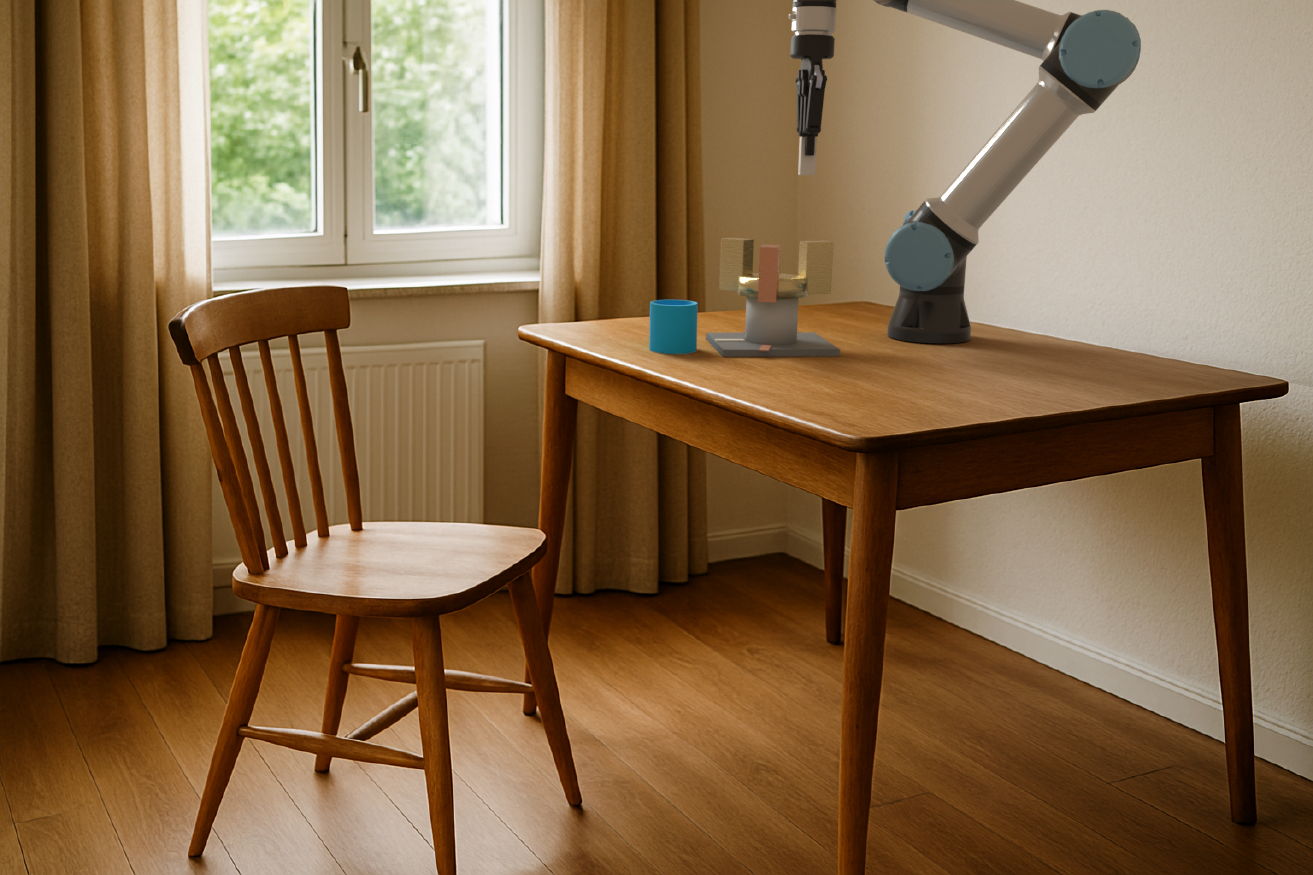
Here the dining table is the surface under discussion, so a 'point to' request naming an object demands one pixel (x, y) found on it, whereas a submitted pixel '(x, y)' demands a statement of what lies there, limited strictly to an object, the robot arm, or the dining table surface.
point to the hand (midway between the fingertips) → (806, 174)
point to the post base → (777, 350)
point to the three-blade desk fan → (775, 270)
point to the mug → (673, 326)
